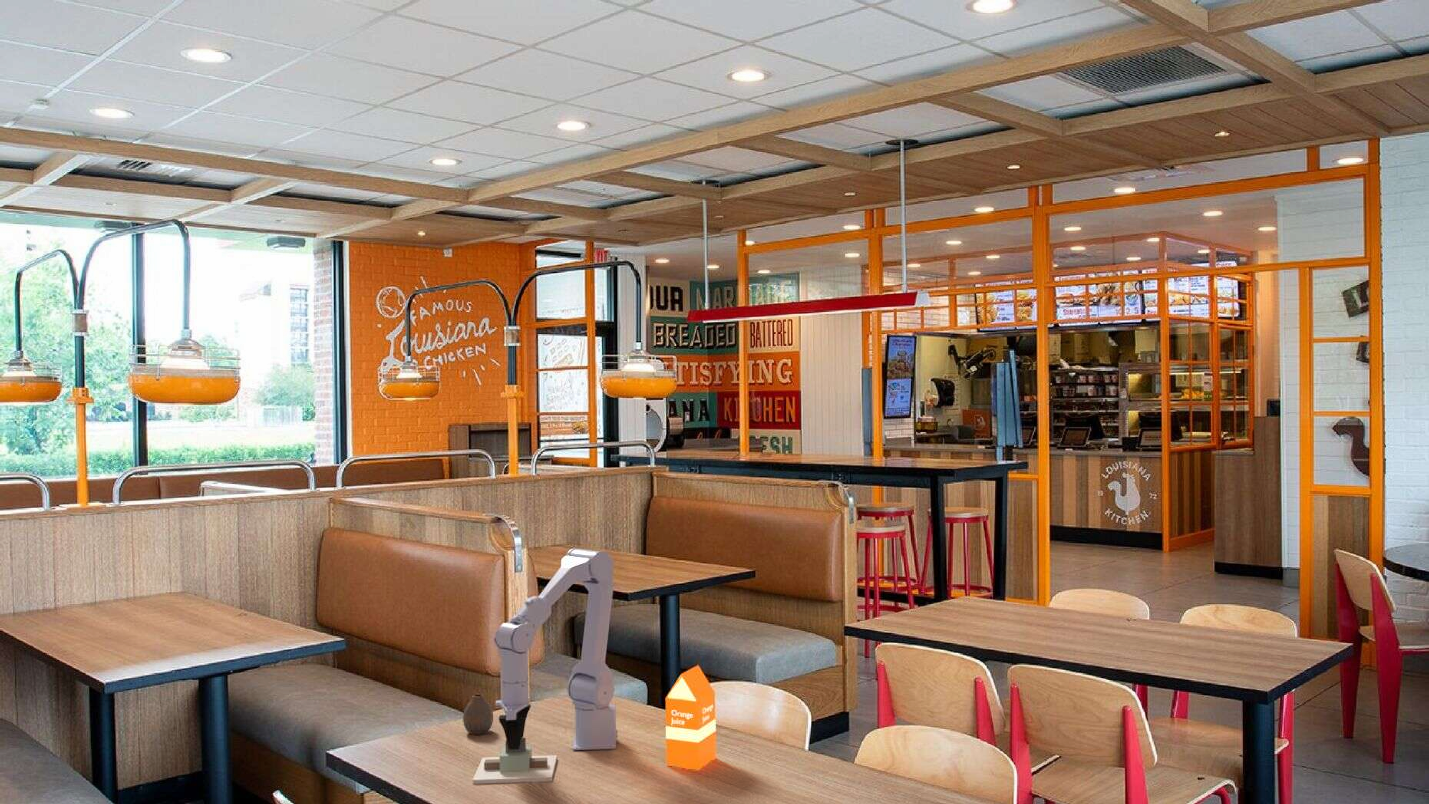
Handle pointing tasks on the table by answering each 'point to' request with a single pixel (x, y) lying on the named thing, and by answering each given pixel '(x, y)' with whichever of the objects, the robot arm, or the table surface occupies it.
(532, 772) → the board
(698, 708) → the orange juice
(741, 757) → the table surface
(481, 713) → the vase
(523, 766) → the sage slotted block
